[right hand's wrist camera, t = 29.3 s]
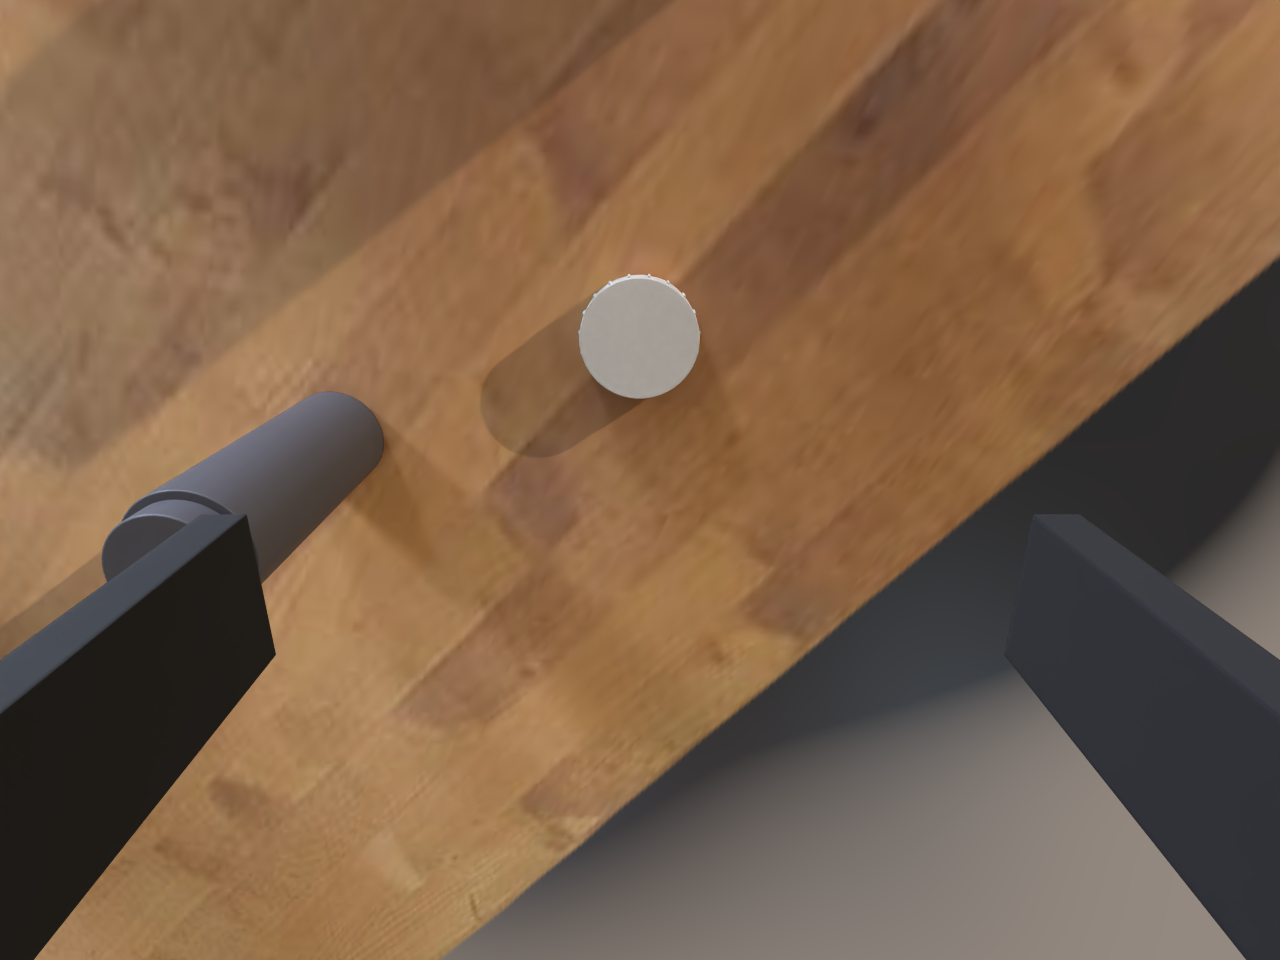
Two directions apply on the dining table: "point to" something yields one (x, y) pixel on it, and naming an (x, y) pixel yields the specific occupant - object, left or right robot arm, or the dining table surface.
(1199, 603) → the right robot arm
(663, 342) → the lid
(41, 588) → the dining table surface
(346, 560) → the dining table surface
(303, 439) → the jar
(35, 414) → the dining table surface
